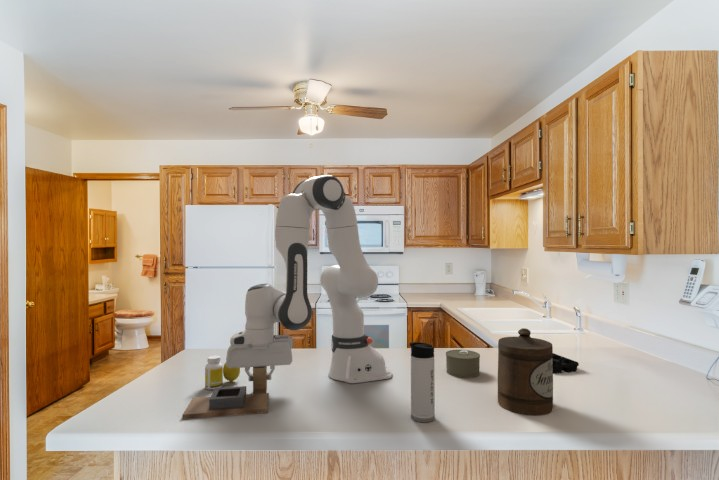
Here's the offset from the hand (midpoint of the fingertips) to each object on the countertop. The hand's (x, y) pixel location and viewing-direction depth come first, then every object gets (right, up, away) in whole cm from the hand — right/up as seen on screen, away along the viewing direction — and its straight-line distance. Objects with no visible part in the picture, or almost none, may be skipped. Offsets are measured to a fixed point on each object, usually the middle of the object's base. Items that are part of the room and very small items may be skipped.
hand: (260, 380), depth 128 cm
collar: (-6, -3, -11) cm, 13 cm away
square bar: (0, -4, 0) cm, 4 cm away
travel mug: (+48, -4, -19) cm, 52 cm away
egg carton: (+102, -5, +32) cm, 107 cm away
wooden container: (+79, -4, -10) cm, 80 cm away
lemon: (-12, -4, +10) cm, 16 cm away
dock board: (-6, -4, -11) cm, 14 cm away
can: (+69, -4, +19) cm, 71 cm away
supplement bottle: (-16, -4, +5) cm, 18 cm away
